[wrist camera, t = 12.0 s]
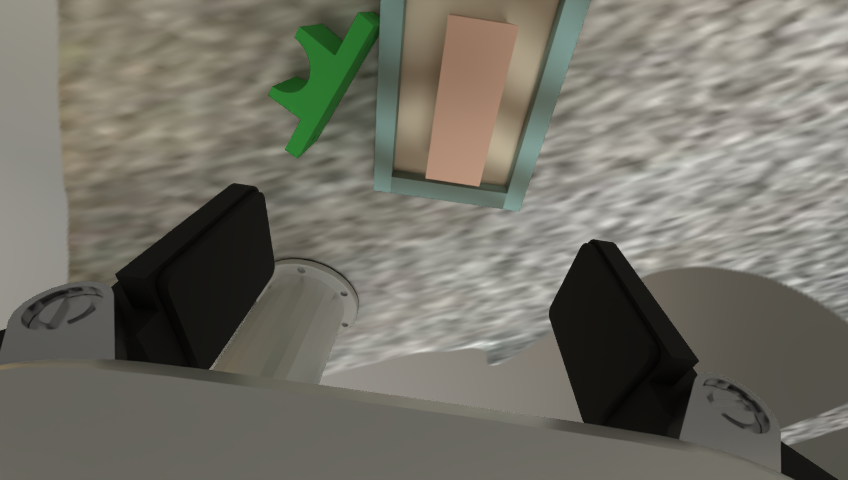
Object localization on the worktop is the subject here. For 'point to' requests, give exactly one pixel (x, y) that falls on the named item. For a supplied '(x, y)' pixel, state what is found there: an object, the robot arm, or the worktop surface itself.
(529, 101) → the nest board
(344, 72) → the pipe clamp
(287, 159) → the worktop surface
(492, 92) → the salmon pink rectangular block
